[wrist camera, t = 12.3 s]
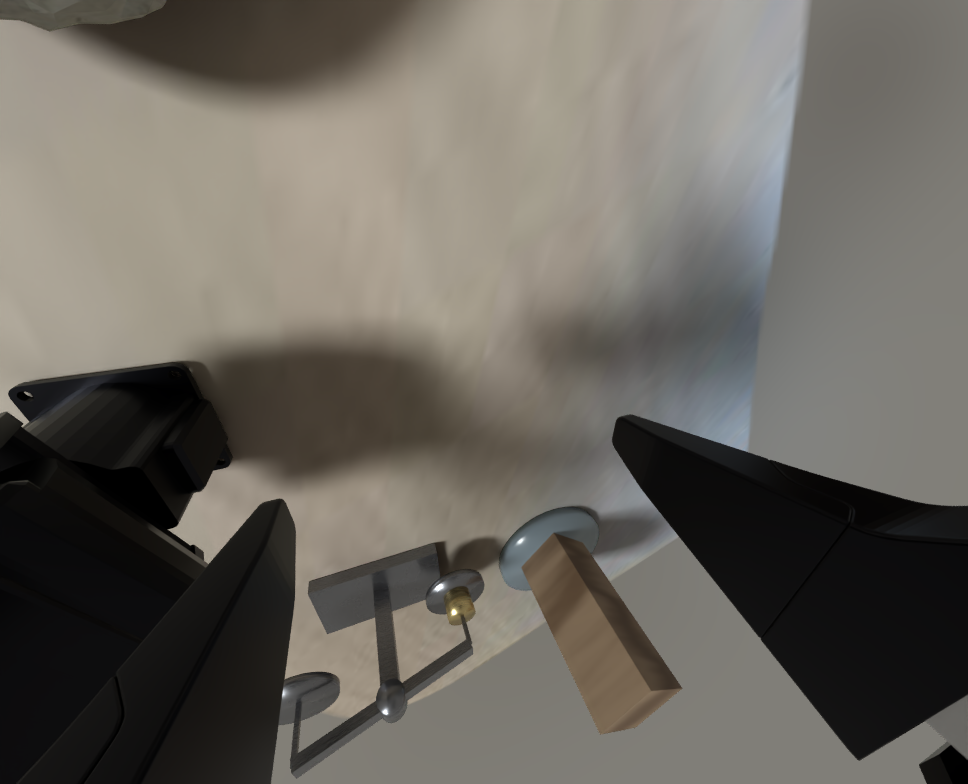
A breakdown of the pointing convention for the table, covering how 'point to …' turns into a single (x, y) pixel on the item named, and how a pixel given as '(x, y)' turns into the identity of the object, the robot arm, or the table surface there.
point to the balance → (364, 599)
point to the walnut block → (598, 636)
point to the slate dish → (537, 532)
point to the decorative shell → (76, 11)
